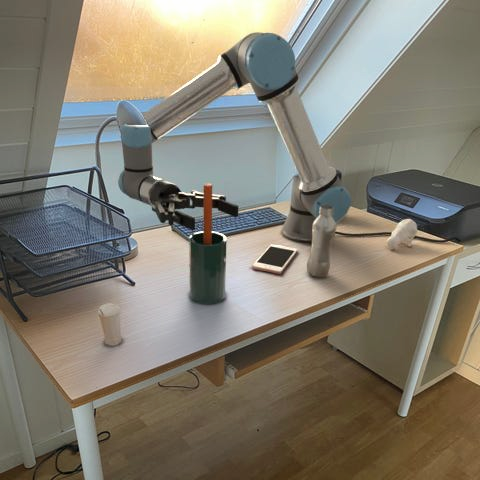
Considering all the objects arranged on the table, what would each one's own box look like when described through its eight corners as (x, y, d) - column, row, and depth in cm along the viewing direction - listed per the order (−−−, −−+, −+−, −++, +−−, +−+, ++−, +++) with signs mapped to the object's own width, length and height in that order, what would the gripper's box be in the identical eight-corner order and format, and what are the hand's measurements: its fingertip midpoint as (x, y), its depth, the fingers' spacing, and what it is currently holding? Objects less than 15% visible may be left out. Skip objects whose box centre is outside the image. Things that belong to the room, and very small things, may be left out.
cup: (218, 285, 129) (220, 229, 120) (229, 301, 122) (231, 243, 113) (186, 289, 126) (185, 232, 118) (195, 306, 119) (194, 247, 111)
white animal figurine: (421, 220, 154) (400, 231, 148) (416, 244, 159) (396, 256, 153) (404, 214, 158) (383, 225, 152) (399, 238, 163) (379, 249, 157)
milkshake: (96, 346, 103) (90, 306, 97) (110, 334, 107) (105, 295, 102) (114, 351, 101) (109, 311, 96) (127, 338, 106) (123, 299, 100)
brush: (213, 286, 126) (215, 181, 111) (219, 295, 122) (221, 187, 107) (195, 289, 125) (194, 182, 110) (200, 298, 121) (200, 188, 106)
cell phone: (251, 268, 139) (251, 265, 138) (271, 246, 153) (271, 243, 152) (280, 274, 136) (280, 271, 135) (297, 251, 150) (297, 248, 150)
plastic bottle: (314, 267, 141) (324, 201, 131) (333, 275, 137) (344, 208, 127) (300, 273, 137) (309, 206, 127) (319, 281, 133) (329, 213, 123)
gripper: (198, 200, 133) (252, 221, 120) (121, 219, 118) (174, 246, 105) (198, 172, 129) (254, 192, 116) (118, 189, 114) (172, 213, 101)
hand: (216, 217), depth 111 cm, fingers open, 13 cm apart
